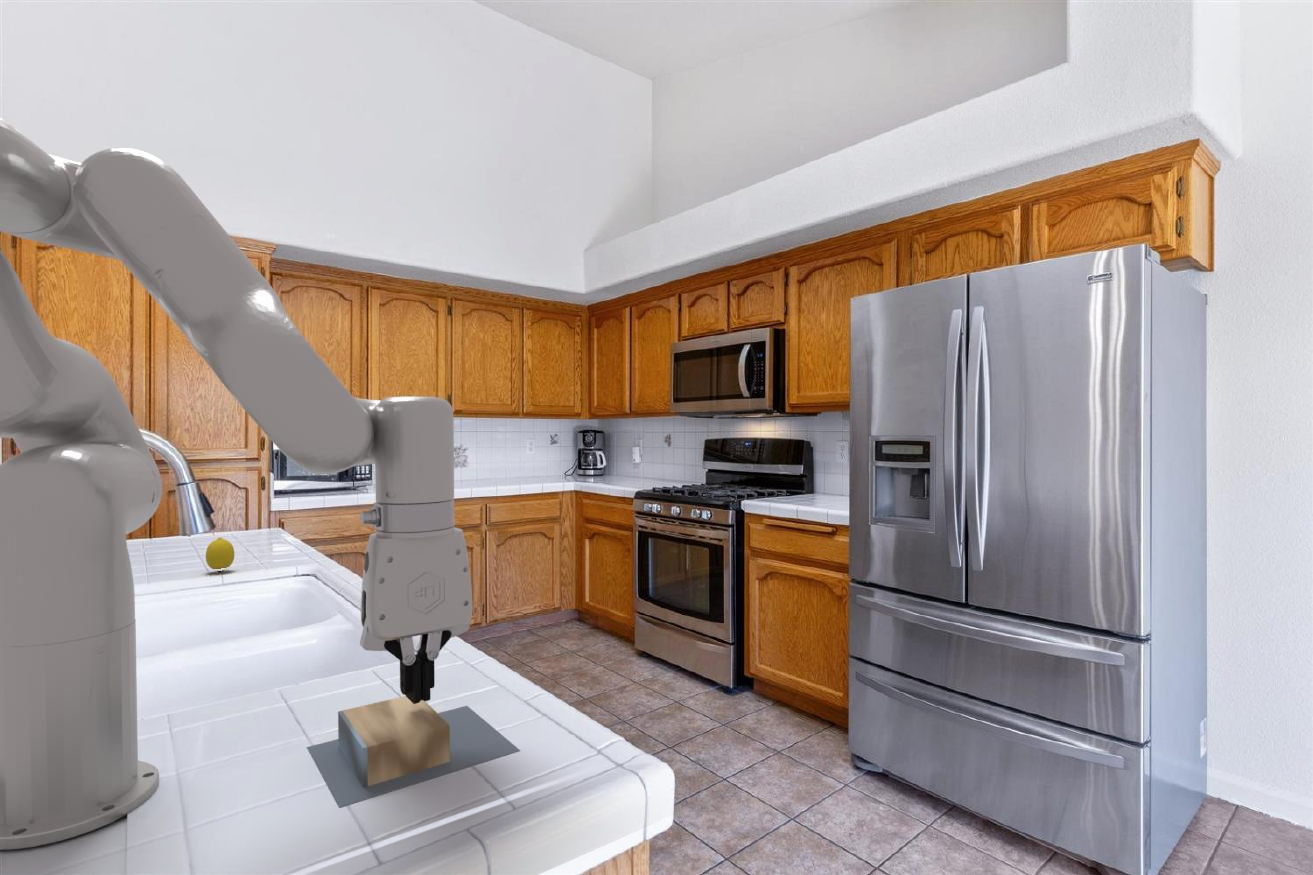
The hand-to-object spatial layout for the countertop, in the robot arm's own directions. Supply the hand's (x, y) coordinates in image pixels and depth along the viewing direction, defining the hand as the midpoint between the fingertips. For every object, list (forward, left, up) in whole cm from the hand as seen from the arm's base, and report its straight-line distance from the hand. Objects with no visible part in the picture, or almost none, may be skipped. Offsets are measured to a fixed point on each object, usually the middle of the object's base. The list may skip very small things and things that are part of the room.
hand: (417, 697), depth 70 cm
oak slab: (+2, 0, -3) cm, 4 cm away
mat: (0, 0, -6) cm, 6 cm away
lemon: (-7, +114, -6) cm, 114 cm away
